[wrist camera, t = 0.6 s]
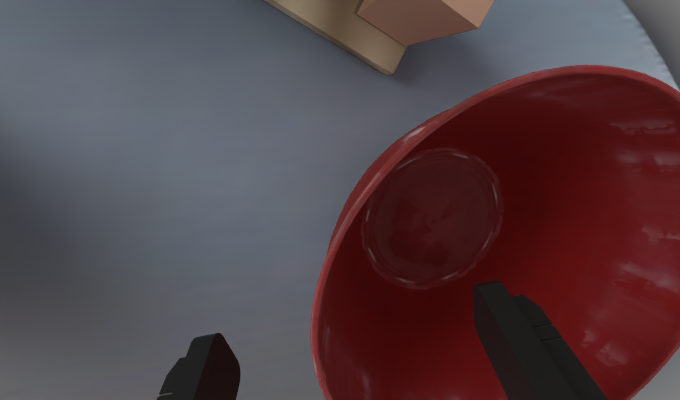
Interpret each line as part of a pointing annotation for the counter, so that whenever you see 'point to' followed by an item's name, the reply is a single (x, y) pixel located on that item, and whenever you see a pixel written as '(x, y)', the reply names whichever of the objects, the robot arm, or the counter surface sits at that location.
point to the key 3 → (424, 17)
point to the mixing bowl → (510, 239)
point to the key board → (346, 30)
